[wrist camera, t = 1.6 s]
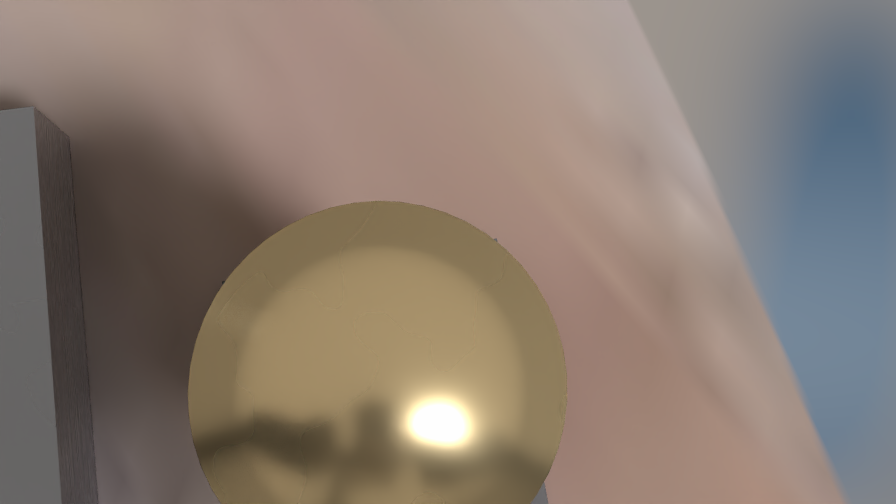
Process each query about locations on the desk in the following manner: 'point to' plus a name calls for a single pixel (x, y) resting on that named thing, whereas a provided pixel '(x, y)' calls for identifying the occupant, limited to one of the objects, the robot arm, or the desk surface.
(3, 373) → the plate
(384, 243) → the brass knob
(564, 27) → the desk surface
